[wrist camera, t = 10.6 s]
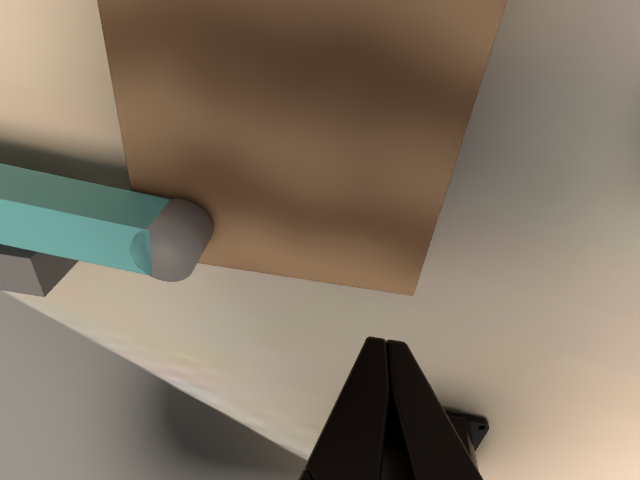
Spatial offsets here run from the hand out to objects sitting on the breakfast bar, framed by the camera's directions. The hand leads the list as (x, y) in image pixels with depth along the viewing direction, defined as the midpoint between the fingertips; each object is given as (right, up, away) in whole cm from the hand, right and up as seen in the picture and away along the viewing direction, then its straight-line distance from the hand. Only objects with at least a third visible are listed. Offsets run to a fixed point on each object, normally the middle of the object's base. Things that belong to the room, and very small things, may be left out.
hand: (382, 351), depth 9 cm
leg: (-14, +5, +11) cm, 18 cm away
